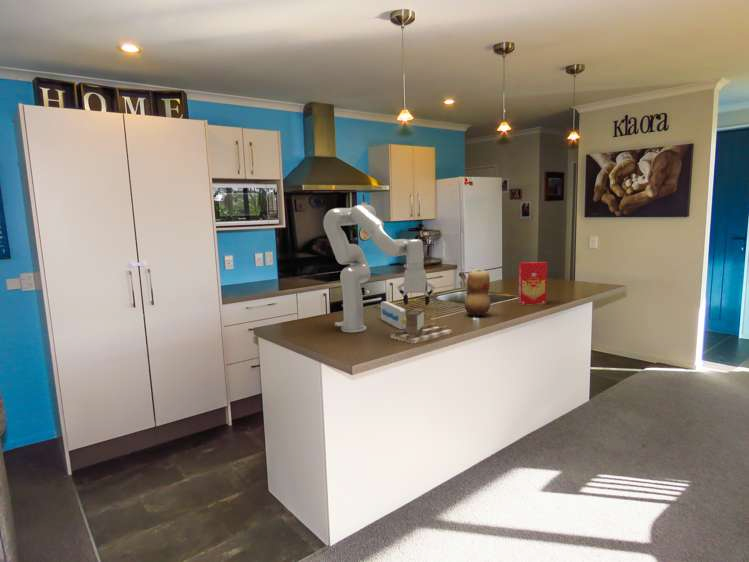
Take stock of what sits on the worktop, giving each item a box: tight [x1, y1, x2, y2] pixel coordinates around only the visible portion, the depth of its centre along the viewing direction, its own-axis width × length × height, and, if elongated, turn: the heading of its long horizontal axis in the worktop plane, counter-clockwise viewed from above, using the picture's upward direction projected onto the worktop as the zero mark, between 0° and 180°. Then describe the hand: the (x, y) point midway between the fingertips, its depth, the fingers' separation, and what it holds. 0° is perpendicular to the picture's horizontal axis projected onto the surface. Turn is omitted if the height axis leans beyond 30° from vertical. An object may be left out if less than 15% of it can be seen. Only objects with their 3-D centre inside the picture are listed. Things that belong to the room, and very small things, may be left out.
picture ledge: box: [390, 322, 454, 345], centre depth 220 cm, size 26×14×3 cm, turn 129°
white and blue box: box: [380, 300, 407, 330], centre depth 242 cm, size 32×4×10 cm, turn 20°
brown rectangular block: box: [406, 307, 426, 335], centre depth 217 cm, size 14×5×9 cm, turn 159°
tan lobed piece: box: [464, 268, 491, 317], centre depth 257 cm, size 14×13×25 cm
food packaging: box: [518, 261, 548, 304], centre depth 283 cm, size 15×5×25 cm, turn 88°
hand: (416, 304), depth 216 cm, fingers open, 9 cm apart
